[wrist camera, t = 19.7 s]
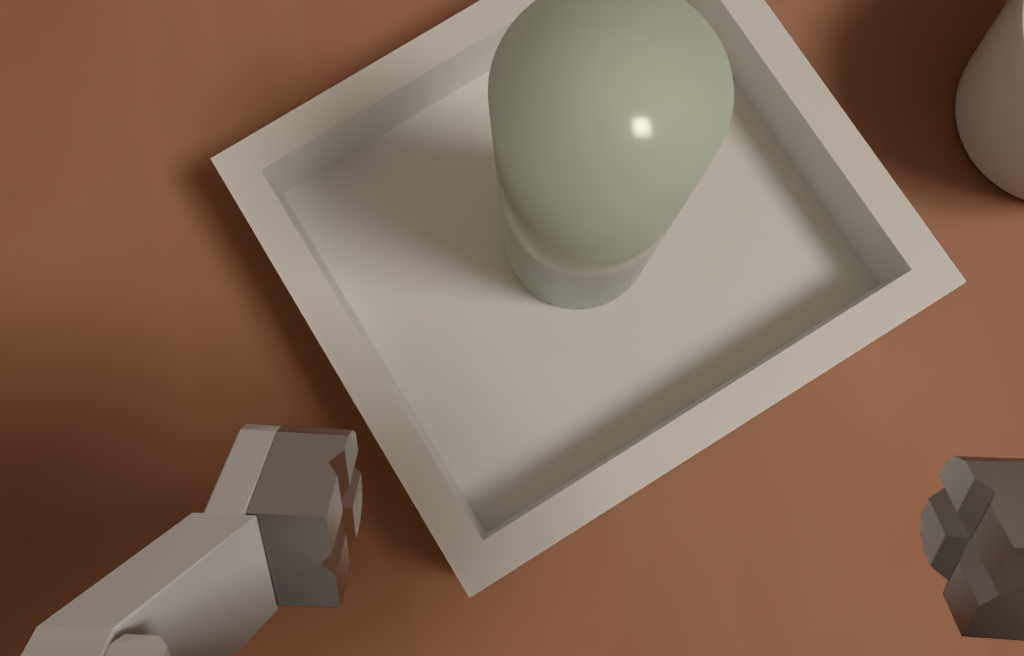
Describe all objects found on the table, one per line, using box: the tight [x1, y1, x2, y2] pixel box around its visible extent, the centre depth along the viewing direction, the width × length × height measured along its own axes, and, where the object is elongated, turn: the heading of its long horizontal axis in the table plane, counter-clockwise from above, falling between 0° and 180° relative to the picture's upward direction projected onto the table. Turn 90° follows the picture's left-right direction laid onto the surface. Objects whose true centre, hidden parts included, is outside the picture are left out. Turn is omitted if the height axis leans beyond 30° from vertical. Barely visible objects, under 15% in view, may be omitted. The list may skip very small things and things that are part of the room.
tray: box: [210, 0, 966, 598], centre depth 28 cm, size 18×16×4 cm
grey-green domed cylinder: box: [488, 0, 734, 310], centre depth 23 cm, size 5×5×12 cm
